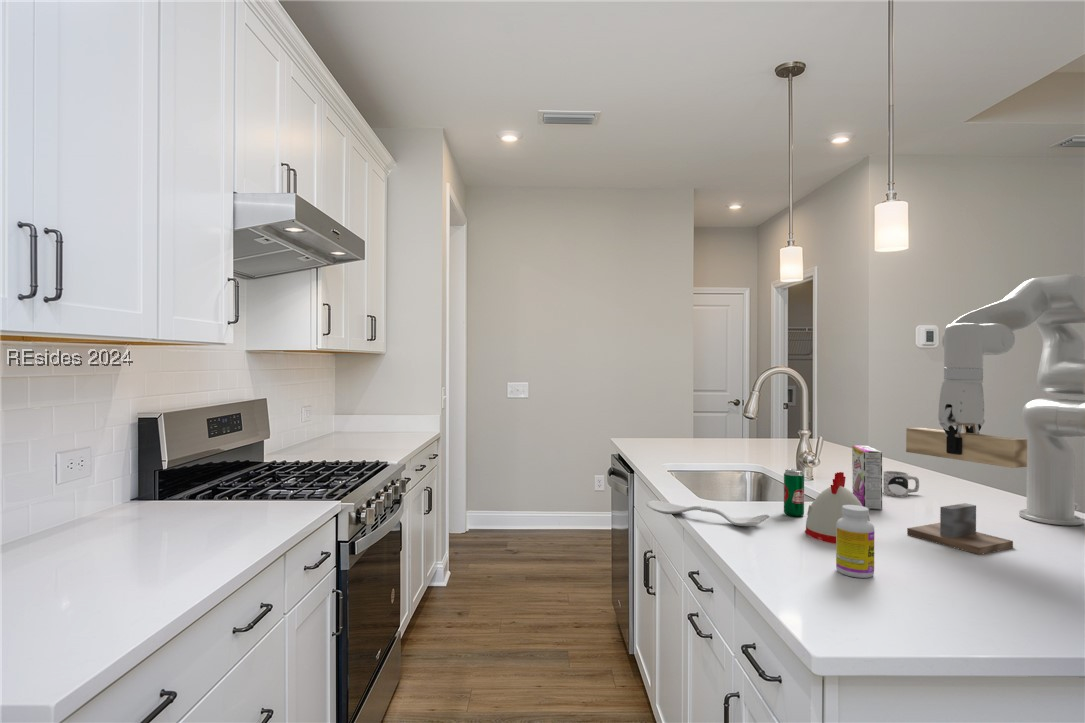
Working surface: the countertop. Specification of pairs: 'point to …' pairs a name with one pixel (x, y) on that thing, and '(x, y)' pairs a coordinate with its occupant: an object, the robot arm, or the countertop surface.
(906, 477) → the mug
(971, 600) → the countertop surface
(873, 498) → the candy bar box
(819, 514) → the kitchen timer
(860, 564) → the supplement bottle
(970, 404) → the robot arm
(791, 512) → the soda can
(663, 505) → the spoon
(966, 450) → the oak beam
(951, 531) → the walnut stand
